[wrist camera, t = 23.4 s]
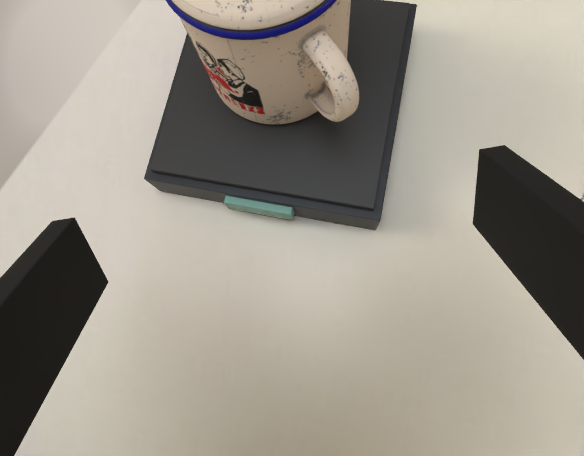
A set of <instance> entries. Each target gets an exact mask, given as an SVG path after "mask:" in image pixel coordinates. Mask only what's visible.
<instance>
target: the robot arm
mask: <svg viewBox="0 0 584 456" xmlns="http://www.w3.org/2000/svg"><path fill="white" fill-rule="evenodd" d="M473 225H474V226H475V227H476V229H477V230H478V231H479V232H480V233H481V235H482V236H483V237H484V238H485V240H486V241H487V242H488V243H489V244H490V246H491V247H492V248H493V249H494V251H495V252H496V253H497V254H498V255H499V257H500V258H501V259H502V260H503V262H504V263H505V264H506V265H507V266H508V268H509V269H510V270H511V271H512V273H513V274H514V275H515V276H516V277H517V279H518V280H519V281H520V282H521V284H522V285H523V286H524V287H525V288H526V290H527V291H528V292H529V293H530V295H531V296H532V297H533V298H534V299H535V301H536V302H537V303H538V304H539V306H540V307H541V308H542V309H543V310H544V312H545V313H546V314H547V315H548V317H549V318H550V319H551V320H552V321H553V323H554V324H555V325H556V326H557V328H558V329H559V330H560V331H561V332H562V334H563V335H564V336H565V337H566V339H567V340H568V341H569V342H570V343H571V345H572V346H573V347H574V348H575V350H576V351H577V352H578V353H579V354H580V356H581V357H582V358H583V359H584V202H583V201H582V200H580V199H579V198H577V197H576V196H575V195H573V194H572V193H570V192H569V191H568V190H566V189H565V188H563V187H562V186H561V185H559V184H558V183H556V182H555V181H554V180H552V179H551V178H549V177H548V176H547V175H545V174H544V173H542V172H541V171H540V170H538V169H537V168H536V167H534V166H533V165H531V164H530V163H529V162H527V161H526V160H524V159H523V158H522V157H520V156H519V155H517V154H516V153H515V152H513V151H512V150H510V149H509V148H508V147H506V146H505V145H503V146H497V147H491V148H485V149H479V160H478V172H477V183H476V194H475V206H474V217H473ZM107 284H108V280H107V278H106V276H105V274H104V273H103V271H102V269H101V267H100V265H99V263H98V261H97V259H96V257H95V255H94V254H93V252H92V250H91V248H90V246H89V244H88V242H87V240H86V238H85V237H84V235H83V233H82V231H81V229H80V227H79V225H78V223H77V221H76V219H75V218H69V219H63V220H57V221H52V222H51V223H50V224H49V225H48V226H47V227H46V229H45V230H44V231H43V232H42V233H41V234H40V235H39V236H38V237H37V238H36V240H35V241H34V242H33V243H32V244H31V245H30V246H29V247H28V248H27V249H26V250H25V252H24V253H23V254H22V255H21V256H20V257H19V258H18V259H17V260H16V261H15V263H14V264H13V265H12V266H11V267H10V268H9V269H8V270H7V271H6V272H5V274H4V275H3V276H2V277H1V278H0V456H14V455H15V453H16V451H17V449H18V447H19V446H20V444H21V442H22V440H23V438H24V436H25V434H26V433H27V431H28V429H29V427H30V425H31V423H32V422H33V420H34V418H35V416H36V414H37V412H38V411H39V409H40V407H41V405H42V403H43V401H44V400H45V398H46V396H47V394H48V392H49V390H50V389H51V387H52V385H53V383H54V381H55V379H56V377H57V376H58V374H59V372H60V370H61V368H62V366H63V365H64V363H65V361H66V359H67V357H68V355H69V354H70V352H71V350H72V348H73V346H74V344H75V343H76V341H77V339H78V337H79V335H80V333H81V331H82V330H83V328H84V326H85V324H86V322H87V320H88V319H89V317H90V315H91V313H92V311H93V309H94V308H95V306H96V304H97V302H98V300H99V298H100V297H101V295H102V293H103V291H104V289H105V287H106V285H107Z"/></svg>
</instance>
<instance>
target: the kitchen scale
mask: <svg viewBox="0 0 584 456" xmlns="http://www.w3.org/2000/svg"><path fill="white" fill-rule="evenodd" d="M416 7H417V5H416V4H409V3H402V2H393V1H384V0H351V6H350V20H349V35H348V50H347V61H348V63H349V65H350V67H351V69H352V71H353V73H354V76H355V78H356V81H357V84H358V89H359V104H358V107H357V109H356V111H355V112H354V113H353V114H352V115H350V116H349V117H347V118H346V119H344V120H343V121H339V122H335V121H331V120H329V119H327V118H326V117H324V116H323V115H322V114H321V113H320V112H319V111H317V112H315V113H314V114H312V115H310V116H308V117H306V118H304V119H301V120H299V121H295V122H292V123H287V124H263V123H258V122H254V121H251V120H248V119H246V118H244V117H242V116H240V115H238V114H237V113H235V112H234V111H233V110H231V109H230V108H229V107H228V106H227V105H226V104H225V103H224V102H223V100H222V99H221V98H220V96H219V95H218V93H217V91H216V89H215V87H214V85H213V83H212V81H211V79H210V77H209V75H208V73H207V71H206V69H205V67H204V65H203V63H202V61H201V59H200V57H199V55H198V53H197V51H196V49H195V47H194V45H193V43H192V41H191V39H190V37H189V35H188V33H187V36H186V39H185V43H184V46H183V49H182V53H181V56H180V60H179V63H178V66H177V70H176V73H175V76H174V80H173V83H172V86H171V90H170V93H169V97H168V100H167V103H166V107H165V110H164V113H163V117H162V120H161V123H160V127H159V130H158V134H157V137H156V140H155V144H154V147H153V150H152V154H151V157H150V160H149V164H148V167H147V170H146V174H145V177H144V179H145V180H146V181H148V182H149V183H150V184H152V185H153V186H154V187H156V188H157V189H158V190H160V191H162V192H168V193H173V194H179V195H184V196H190V197H195V198H201V199H206V200H212V201H217V202H223V203H225V205H226V206H227V207H228V208H229V209H234V210H240V211H245V212H251V213H256V214H261V215H267V216H272V217H278V218H283V219H289V220H293V219H294V216H300V217H305V218H311V219H316V220H322V221H327V222H333V223H338V224H344V225H349V226H355V227H360V228H366V229H371V230H376V228H377V226H378V224H379V222H380V219H381V213H382V207H383V201H384V195H385V189H386V184H387V178H388V172H389V166H390V160H391V154H392V148H393V142H394V136H395V131H396V125H397V119H398V113H399V107H400V101H401V95H402V89H403V83H404V77H405V72H406V66H407V60H408V54H409V48H410V42H411V36H412V30H413V24H414V18H415V13H416Z"/></svg>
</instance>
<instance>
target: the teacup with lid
mask: <svg viewBox="0 0 584 456" xmlns="http://www.w3.org/2000/svg"><path fill="white" fill-rule="evenodd" d="M166 1H167V3H168V5H169V6H170V7H171V8H172V9H173V11H174V12H175V13H176V14H177V15H178V16H179V17H180V19H181V21H182V23H183V25H184V27H185V29H186V31H187V33H188V35H189V37H190V39H191V41H192V43H193V45H194V47H195V49H196V51H197V53H198V55H199V57H200V59H201V61H202V63H203V65H204V67H205V69H206V71H207V73H208V75H209V77H210V79H211V81H212V83H213V85H214V87H215V89H216V91H217V93H218V95H219V96H220V98H221V99H222V100H223V102H224V103H225V104H226V105H227V106H228V107H229V108H230V109H231V110H233V111H234V112H235V113H237V114H238V115H240V116H242V117H244V118H246V119H248V120H251V121H254V122H258V123H263V124H287V123H292V122H295V121H299V120H301V119H304V118H306V117H308V116H310V115H312V114H314V113H315V112H317V111H319V112H320V113H321V114H322V115H323V116H324V117H326V118H327V119H329V120H331V121H335V122H339V121H343V120H344V119H346V118H347V117H349V116H350V115H352V114H353V113H354V112H355V111H356V109H357V107H358V104H359V89H358V84H357V81H356V78H355V76H354V73H353V71H352V69H351V67H350V65H349V63H348V61H347V50H348V35H349V20H350V6H351V0H166Z"/></svg>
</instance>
